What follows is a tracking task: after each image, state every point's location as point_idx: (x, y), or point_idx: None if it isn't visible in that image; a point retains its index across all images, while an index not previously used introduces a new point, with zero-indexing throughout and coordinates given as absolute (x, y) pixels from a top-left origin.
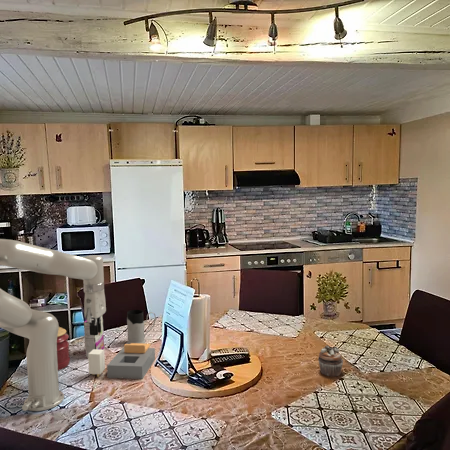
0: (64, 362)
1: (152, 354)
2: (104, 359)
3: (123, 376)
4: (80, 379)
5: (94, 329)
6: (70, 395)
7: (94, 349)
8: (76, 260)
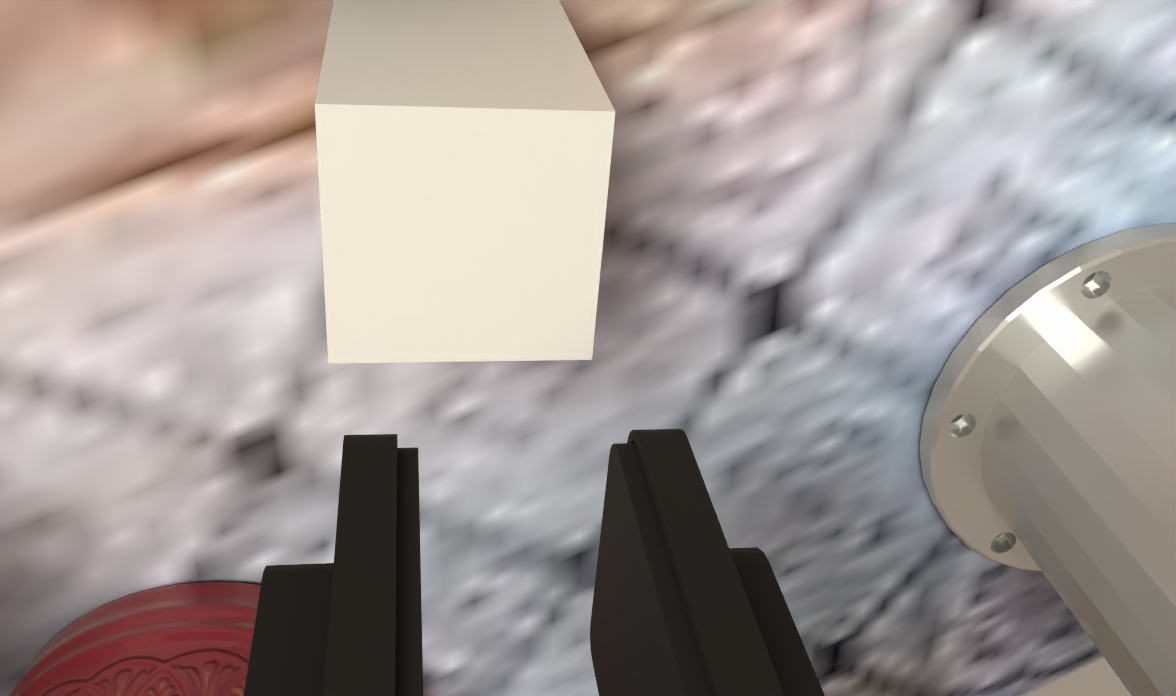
0: None
1: None
2: (339, 30)
3: None
4: None
5: (803, 659)
6: (1025, 194)
7: (335, 332)
8: None
